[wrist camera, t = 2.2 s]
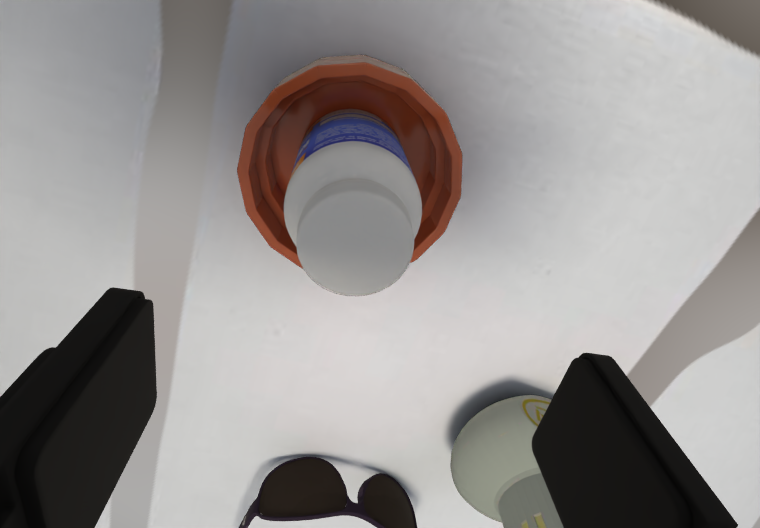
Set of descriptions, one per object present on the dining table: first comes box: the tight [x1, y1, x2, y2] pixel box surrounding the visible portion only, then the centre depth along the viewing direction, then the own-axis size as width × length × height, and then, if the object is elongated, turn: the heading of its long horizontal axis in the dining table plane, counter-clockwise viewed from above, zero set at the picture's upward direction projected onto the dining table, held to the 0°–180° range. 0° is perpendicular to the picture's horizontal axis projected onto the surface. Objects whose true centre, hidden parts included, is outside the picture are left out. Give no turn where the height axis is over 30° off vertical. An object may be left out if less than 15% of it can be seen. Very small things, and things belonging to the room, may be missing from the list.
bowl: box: [237, 55, 462, 269], centre depth 22 cm, size 10×10×4 cm
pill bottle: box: [284, 109, 422, 296], centre depth 19 cm, size 5×5×10 cm
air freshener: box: [451, 395, 563, 528], centre depth 31 cm, size 11×8×10 cm
